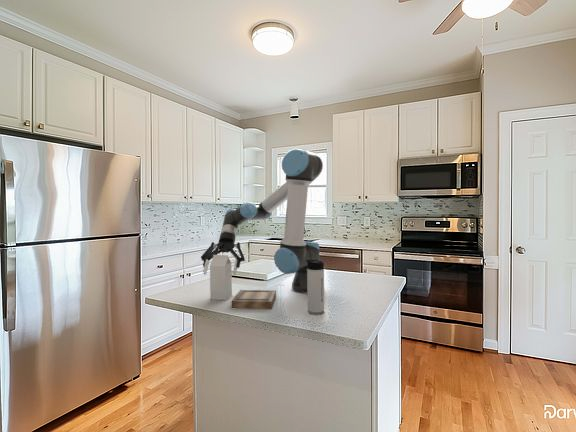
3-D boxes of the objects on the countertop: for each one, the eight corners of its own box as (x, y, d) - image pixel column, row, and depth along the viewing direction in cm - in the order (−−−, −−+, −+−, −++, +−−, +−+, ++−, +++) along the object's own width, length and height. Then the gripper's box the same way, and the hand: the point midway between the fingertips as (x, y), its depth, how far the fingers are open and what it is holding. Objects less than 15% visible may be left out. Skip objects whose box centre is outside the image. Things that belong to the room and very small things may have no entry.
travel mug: (305, 309, 119) (305, 258, 119) (322, 309, 120) (322, 258, 119) (307, 315, 113) (307, 261, 112) (325, 314, 114) (325, 261, 113)
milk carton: (225, 300, 132) (225, 256, 131) (210, 299, 133) (209, 256, 133) (232, 295, 139) (231, 253, 138) (217, 295, 140) (216, 253, 140)
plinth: (275, 296, 136) (275, 289, 136) (271, 309, 120) (271, 300, 120) (240, 296, 137) (240, 289, 137) (231, 308, 121) (231, 300, 121)
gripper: (254, 240, 153) (248, 278, 139) (205, 240, 155) (194, 277, 140) (252, 231, 147) (245, 268, 133) (201, 231, 149) (189, 268, 135)
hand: (219, 273), depth 137 cm, fingers open, 13 cm apart
